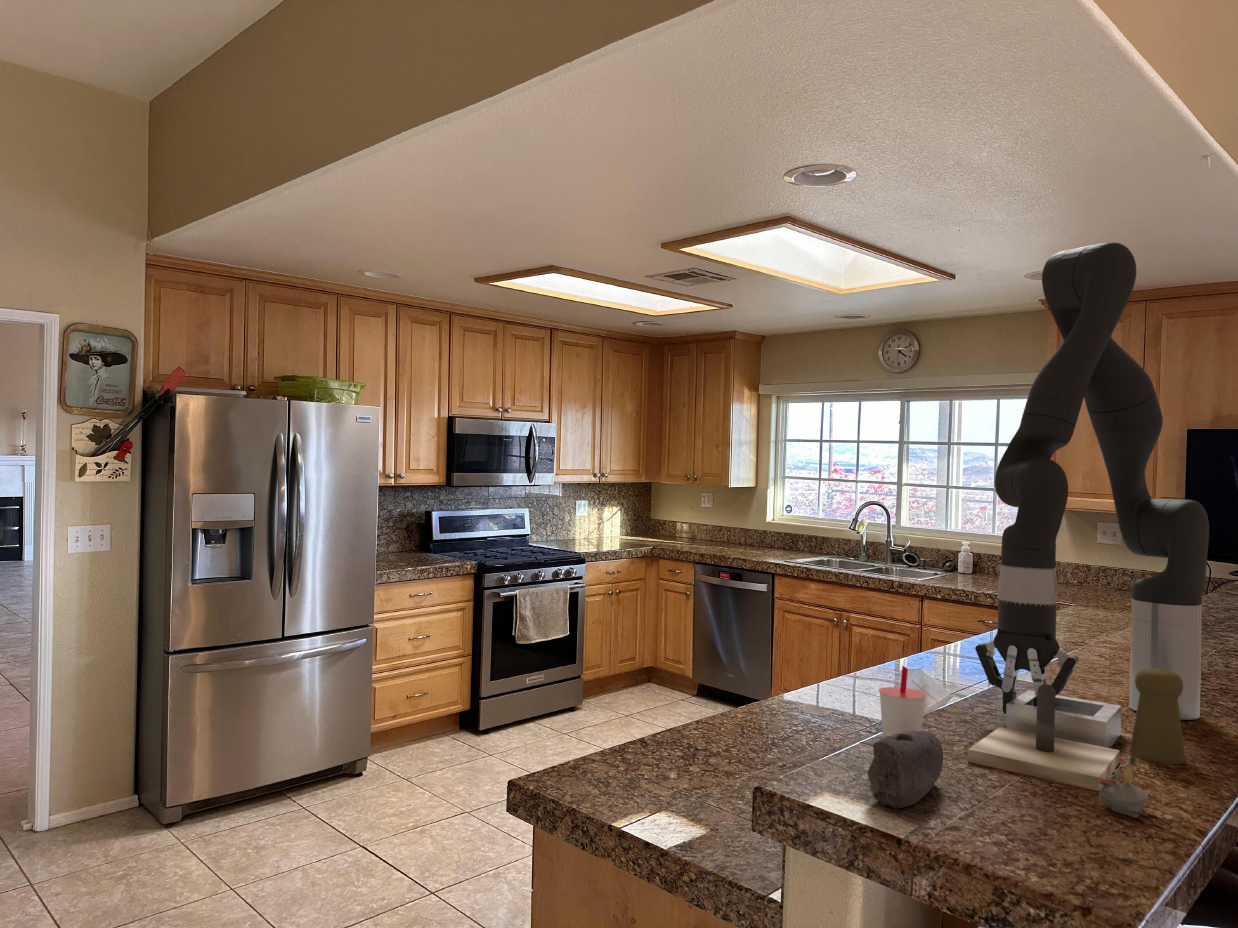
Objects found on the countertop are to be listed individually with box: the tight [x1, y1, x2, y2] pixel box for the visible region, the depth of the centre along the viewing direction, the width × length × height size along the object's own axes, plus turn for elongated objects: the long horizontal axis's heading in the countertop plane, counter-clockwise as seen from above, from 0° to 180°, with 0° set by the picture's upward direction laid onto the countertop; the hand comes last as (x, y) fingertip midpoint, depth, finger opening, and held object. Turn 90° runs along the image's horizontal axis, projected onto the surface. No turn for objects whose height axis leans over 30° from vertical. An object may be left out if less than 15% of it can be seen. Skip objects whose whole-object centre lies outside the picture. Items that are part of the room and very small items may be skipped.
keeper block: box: [967, 683, 1121, 792], centre depth 103 cm, size 14×14×10 cm
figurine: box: [1098, 754, 1149, 819], centre depth 88 cm, size 5×4×6 cm
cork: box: [1129, 668, 1187, 765], centre depth 108 cm, size 6×6×11 cm
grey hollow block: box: [1005, 689, 1122, 748], centre depth 116 cm, size 12×12×4 cm
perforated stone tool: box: [867, 730, 944, 809], centre depth 90 cm, size 15×5×7 cm, turn 138°
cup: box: [878, 665, 928, 739], centre depth 99 cm, size 5×5×12 cm
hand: (1023, 719), depth 120 cm, fingers open, 3 cm apart
